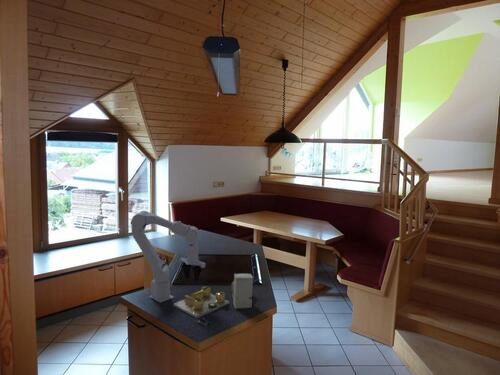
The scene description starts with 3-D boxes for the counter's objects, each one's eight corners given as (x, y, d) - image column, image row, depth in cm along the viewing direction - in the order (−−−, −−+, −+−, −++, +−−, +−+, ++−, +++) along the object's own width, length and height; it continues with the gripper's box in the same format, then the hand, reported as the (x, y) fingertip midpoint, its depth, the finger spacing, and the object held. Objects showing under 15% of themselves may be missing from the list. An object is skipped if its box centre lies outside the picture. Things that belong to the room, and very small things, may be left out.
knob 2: (205, 307, 162) (205, 299, 162) (197, 310, 159) (197, 302, 158) (189, 300, 169) (189, 292, 169) (181, 303, 166) (181, 295, 166)
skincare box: (234, 309, 165) (235, 278, 163) (232, 303, 171) (233, 273, 169) (252, 307, 166) (253, 277, 165) (250, 302, 172) (250, 272, 170)
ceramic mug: (233, 291, 184) (234, 277, 183) (249, 293, 183) (249, 278, 182) (228, 300, 174) (228, 285, 173) (245, 302, 172) (245, 287, 171)
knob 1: (206, 292, 178) (206, 285, 178) (212, 295, 176) (212, 287, 175) (188, 299, 170) (188, 291, 170) (194, 302, 167) (194, 294, 167)
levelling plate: (172, 306, 166) (172, 295, 165) (205, 293, 181) (205, 283, 180) (196, 318, 155) (196, 306, 154) (229, 303, 170) (229, 292, 169)
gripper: (175, 251, 172) (175, 278, 174) (198, 256, 165) (198, 285, 166) (184, 248, 178) (184, 274, 180) (208, 253, 171) (207, 280, 173)
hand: (192, 279), depth 174 cm, fingers open, 5 cm apart
